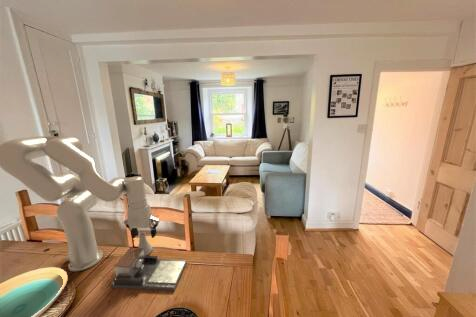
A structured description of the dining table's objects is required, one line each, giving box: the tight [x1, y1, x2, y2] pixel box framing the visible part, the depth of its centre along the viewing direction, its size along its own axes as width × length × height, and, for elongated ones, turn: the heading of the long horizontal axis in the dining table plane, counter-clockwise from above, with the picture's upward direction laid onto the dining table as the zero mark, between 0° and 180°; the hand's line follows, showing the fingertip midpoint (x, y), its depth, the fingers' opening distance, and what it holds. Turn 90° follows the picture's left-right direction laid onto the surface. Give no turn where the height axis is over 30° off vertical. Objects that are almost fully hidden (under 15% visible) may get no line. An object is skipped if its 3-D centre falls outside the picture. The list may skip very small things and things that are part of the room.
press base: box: [110, 255, 188, 292], centre depth 80 cm, size 25×14×4 cm, turn 86°
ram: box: [113, 247, 145, 278], centre depth 79 cm, size 8×10×7 cm
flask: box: [137, 231, 154, 256], centre depth 92 cm, size 7×7×10 cm
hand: (144, 236), depth 92 cm, fingers open, 9 cm apart
